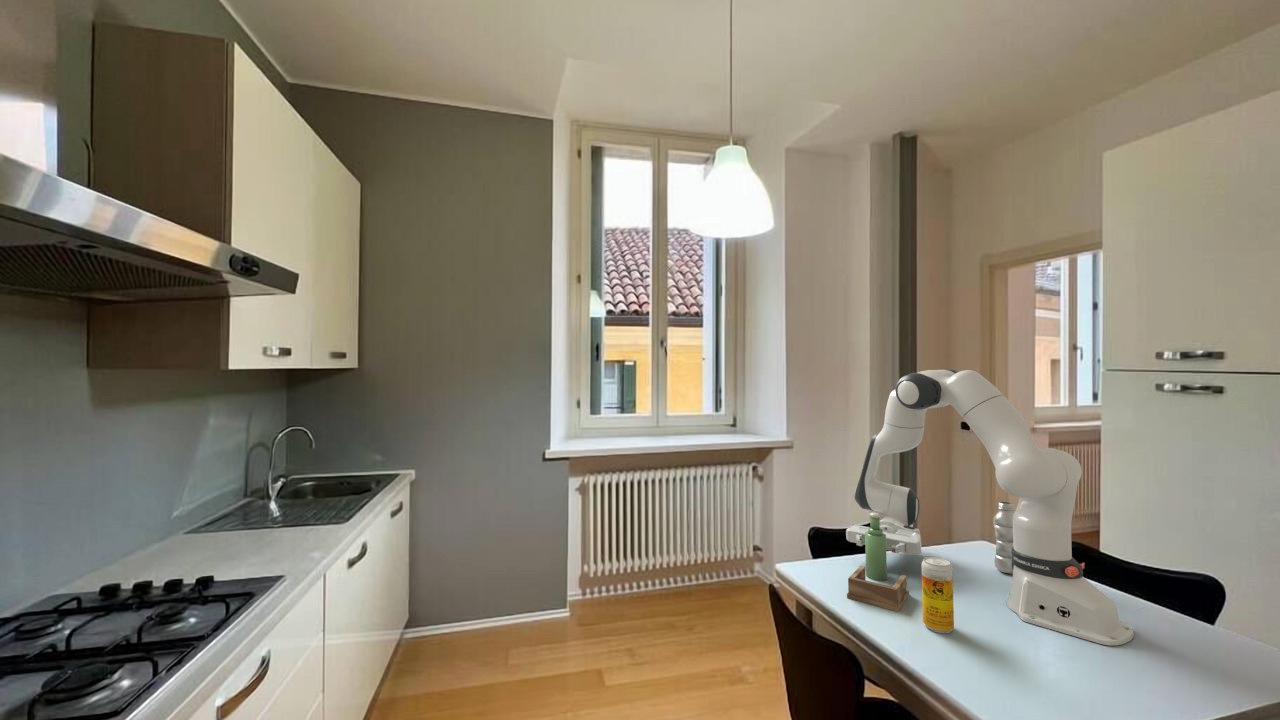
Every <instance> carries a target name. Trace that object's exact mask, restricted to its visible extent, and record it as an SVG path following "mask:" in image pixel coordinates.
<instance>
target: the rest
mask: <svg viewBox="0 0 1280 720" xmlns="http://www.w3.org/2000/svg"><path fill="white" fill-rule="evenodd" d="M847 579H848V580H847V581H848V582H847V583H848V586H847V587H848V589H847V590H848V591H847V593H846V598H847V599H850V600H853V599H854V600H853V601H857V602H861V603H865V604H869V605H873V606H876V607H880V608H883V609H888V610H891V611H895V612H899V610H900V609H901V608H902V606H903V604H904V603H905V601H906V600H907V598H908V597H909V596H910V590H907V589H908V588H907V586H908V585H907V584H908V583H907V580H908V578H907V576H906V575H904V574H903V575H902V574H901V575H900V576H899V577H898V578H897V580H896V581H895V583H894V584H893V586H891V585H887V584H883V583H880V582H879V583H878V582H874V581H872V580H866V566H863V565H859V566H858V568H857V569H855V571H853V573H852V574H850V575H849V577H848V578H847Z"/></svg>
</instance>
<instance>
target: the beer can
mask: <svg viewBox="0 0 1280 720" xmlns="http://www.w3.org/2000/svg"><path fill="white" fill-rule="evenodd" d="M953 579H954V577H953V567H952V565H951V562H950V561H949V560H947V559H945V558H941V557H936V556H935V557H934V556H926V557H924V558H923V560H922V561H921V594H922V595H921V597H922V622H923V624H924V625H925V627H926V628H927V629H929V630H930V631H933V632H934V633H938V634H949V633H951V632H952V631H953V630H954V628H955V620H954V619H955V617H954V616H955V615H954V612H955V611H954V610H955V609H954V580H953Z"/></svg>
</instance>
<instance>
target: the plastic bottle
mask: <svg viewBox="0 0 1280 720" xmlns="http://www.w3.org/2000/svg"><path fill="white" fill-rule="evenodd" d="M997 509H999V510H998V511H997V512H996V514H994V516H993V518H992V523H993V529H994V532H995V533H994V534H995V540H996V541H995V543H996V544H995V554H994V566H995V568H996V569H997V570H998V571H999V572H1002V573H1005V574H1009V575H1013V569H1012V563H1011V549H1012V547H1013V514H1014V512H1015V511H1016V508H1015V503H1014V502H1010V501H999V502H998V506H997Z"/></svg>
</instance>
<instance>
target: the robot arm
mask: <svg viewBox="0 0 1280 720" xmlns="http://www.w3.org/2000/svg"><path fill="white" fill-rule="evenodd" d="M947 406H951V407H953V408H954V409H955V411H957V413H958V414H959V415H960V417H962V419H963V420H964V421H965V423H966V424H967V425H968V426H969V428H970V429H971V430H972V432H973V433H974V434H975V435H976V436H977V437H978V439H979V440H980V442H981V444H983V446H984V447H985V449H986V451H987V453H988V455H989V457H990V459H991V461H992V463H993V465H994V468H995V479H996V482H997V484H998V485H999V487H1000V488H1001V489H1002V490H1003V491H1004V492H1006V493H1007V494H1009V495H1010V496H1013V497H1015V498H1018V503H1017V505H1016V508H1015V511H1014V514H1013V547H1012V549H1011V563H1012V569H1013V574H1012V578H1011V580H1012V581H1011V587H1010V593H1009V596H1008V598H1007V602H1006V604H1007V607H1008V608H1009V609H1010V610H1012V612H1014V613H1015V614H1017V615H1018V618H1019V619H1021V620H1022V621H1023V622H1025V623H1028V624H1033V625H1035V626H1039V627H1041V628H1042V627H1043V628H1046V629H1049V630H1053V631H1056V632H1060V633H1063V634H1066V635H1068V636H1069V635H1070V636H1073V637H1075V638H1080V639H1083V640H1086V641H1090V642H1093V643H1095V644H1096V643H1097V644H1099V645H1103V646H1121V645H1125V644H1127V643H1128V642H1130V641H1131V640H1132V639H1133V638H1134V636H1135V635H1134V634H1135V633H1134V629H1133V627H1132V626H1131V625H1130V624H1128V623H1126V622H1123V621H1120V617H1119V613H1118V609H1117V607H1116V606H1117V605H1115V602H1114V600H1112V599H1111V598H1110V597H1109V596H1108V595H1106V594H1105V593H1104V592H1103V591H1101V590H1100V589H1099V588H1098V587H1096V586H1095V585H1094V584H1093V583H1091V582H1090V581H1089V580H1087V578H1085V577H1084V570H1083V569H1085V567H1086V566H1085V562H1081V563H1079V562H1078V561H1077V560H1076V559H1075V558H1074V557H1073V556H1072V555H1073V553H1072V552H1073V551H1072V522H1073V521H1072V519H1073V514H1074V510H1075V509H1074V508H1075V503H1076V499H1077V490H1078V485H1079V482H1080V480H1081V477H1082V473H1083V472H1082V466H1081V463H1080V462H1079V460H1078V459H1077V458H1076V457H1074V455H1072V454H1071V453H1069V452H1067V451H1064V450H1060V449H1057V448H1054V447H1053V448H1052V447H1043V448H1040V447H1039V446H1038V444H1037V443H1036V441H1035V439H1034V438H1033V436H1032V434H1031V433H1030V430H1029V429H1028V423H1027V420H1026V419H1025V418H1024V417H1023V415H1021V414H1020V412H1019V411H1018V410H1017V409H1016V408H1015V407H1014V405H1012V403H1011V402H1010V401H1009V400H1008V399H1007V398H1006V396H1004V394H1003V393H1002V392H1001V391H1000V390H999V389H998V388H997V387H996V386H995V385H994V384H993V383H992V382H991V381H989V380H988V379H986V378H985V377H984V376H983V375H982V374H980V373H979V372H978V371H975V370H970V369H965V370H960V371H957V370H954V369H950V368H944V369H927V370H921V371H918V372H910V373H909V374H906V375H904V376H902V377H901V378H900V379H899V380H898V381H897V383H896V385H895V389H893V390H892V391H891V392H890V393H889V395H888V399H887V403H886V406H885V412H884V422H883V426H882V428H881V430H880V432H878V433H874V435H873V436H872V437H871V439H870V442H869V445H868V448H867V451H866V454H865V457H864V462H863V465H862V469H861V473H860V476H859V480H858V481H857V482H858V483H857V484H856V487H855V489H854V490H855V491H854V500H855V502H856V503H857V505H858V506H859V507H860V508H861V509H863V510H867V511H872V512H877V513H880V514H881V513H882V514H885V515H884V516H883V517H882V518H880V528H881V529H883V533H884V534H885V535H886V551H891V553H894V554H899V553H905V554H910V555H914V556H920V555H921V554H922V536H921V531H920V529H919V528H916V527H914V523H916V522H917V520H918V517H919V515H920V513H919V512H920V499H919V498H918V495H917V494H916V492H915V491H914V490H913V489H912V488H909V487H906V486H903V485H902V486H901V485H899V484H898V485H897V484H891V483H889V482H888V483H887V482H883V481H880V480H878V479H877V478H876V475H877V472H878V468H879V465H880V461H881V458H882V457H884V456H885V455H889V454H896V453H904V452H908V451H911V450H913V449H914V448H916V447H918V446H919V445H920V444H921V442H922V441H923V437H924V432H925V424H926V420H925V419H926V413H927V411H928V410H929V409H939V408H944V407H947ZM869 527H870V526H863V525H852V526H850V527H848V528H846V530H845V536H846V537H845V539H846V540H847V541H848V542H850V543H855V544H856V546H859V547H863V546H864V545H865V532H868V528H869Z"/></svg>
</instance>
